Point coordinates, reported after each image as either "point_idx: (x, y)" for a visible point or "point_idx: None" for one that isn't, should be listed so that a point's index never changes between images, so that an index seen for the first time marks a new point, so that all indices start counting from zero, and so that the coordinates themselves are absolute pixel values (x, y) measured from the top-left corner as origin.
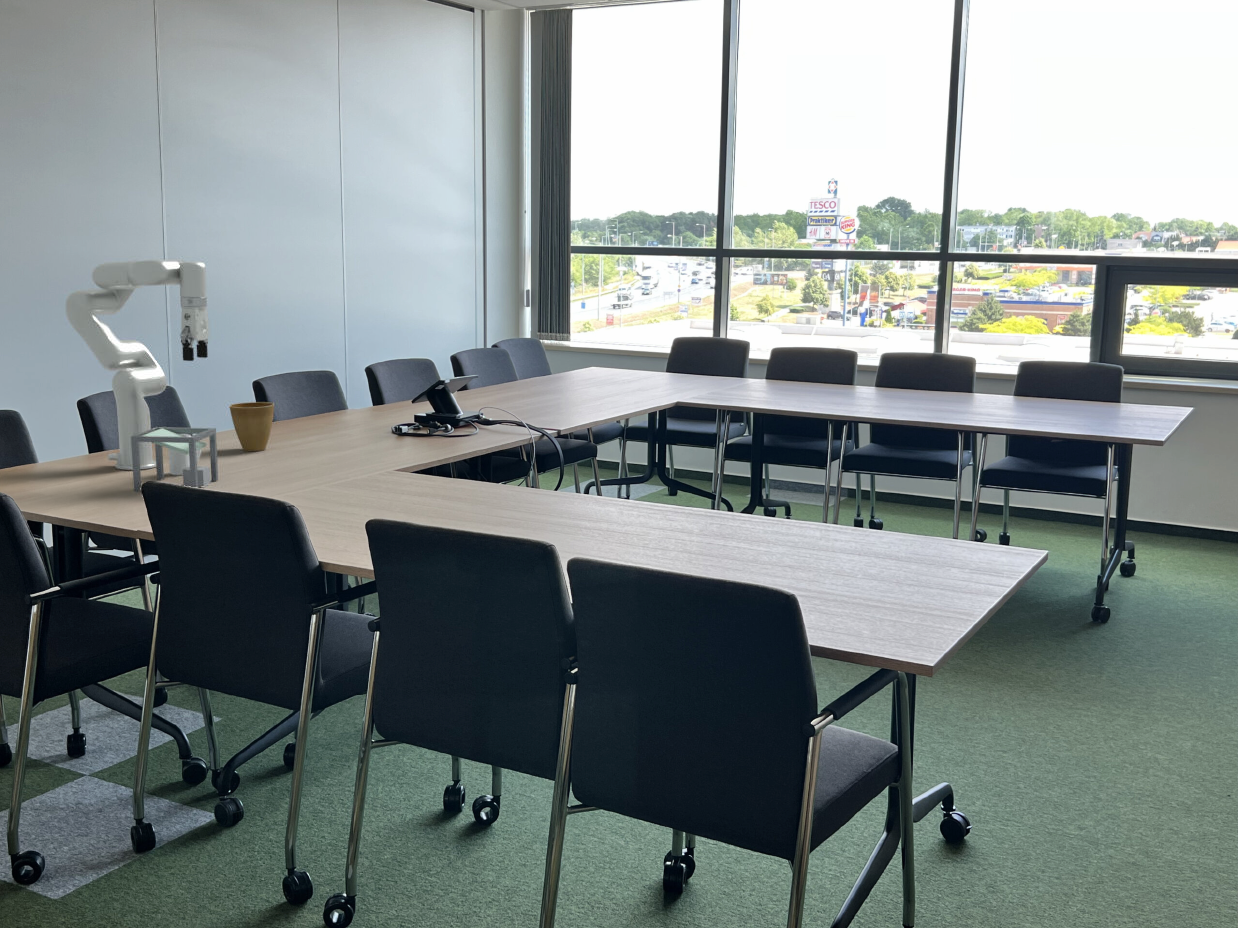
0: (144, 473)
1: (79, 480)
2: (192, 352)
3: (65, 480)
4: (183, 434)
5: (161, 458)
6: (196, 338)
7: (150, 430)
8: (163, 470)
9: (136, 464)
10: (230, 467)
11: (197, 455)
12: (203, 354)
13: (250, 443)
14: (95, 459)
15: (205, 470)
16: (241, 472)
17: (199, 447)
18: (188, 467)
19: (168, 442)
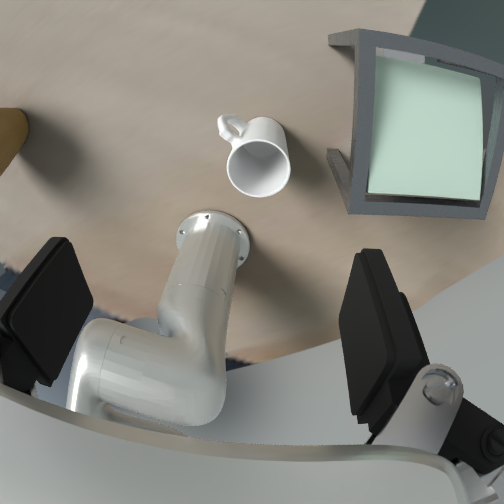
0: (272, 205)
1: (342, 274)
2: (401, 313)
3: (341, 290)
4: (229, 168)
5: (342, 165)
6: (458, 481)
7: (408, 207)
8: (330, 154)
9: None
10: (174, 66)
11: (232, 118)
12: (65, 276)
13: (21, 124)
14: None
15: None
16: (226, 17)
17: (414, 62)
18: None
19: (468, 134)
